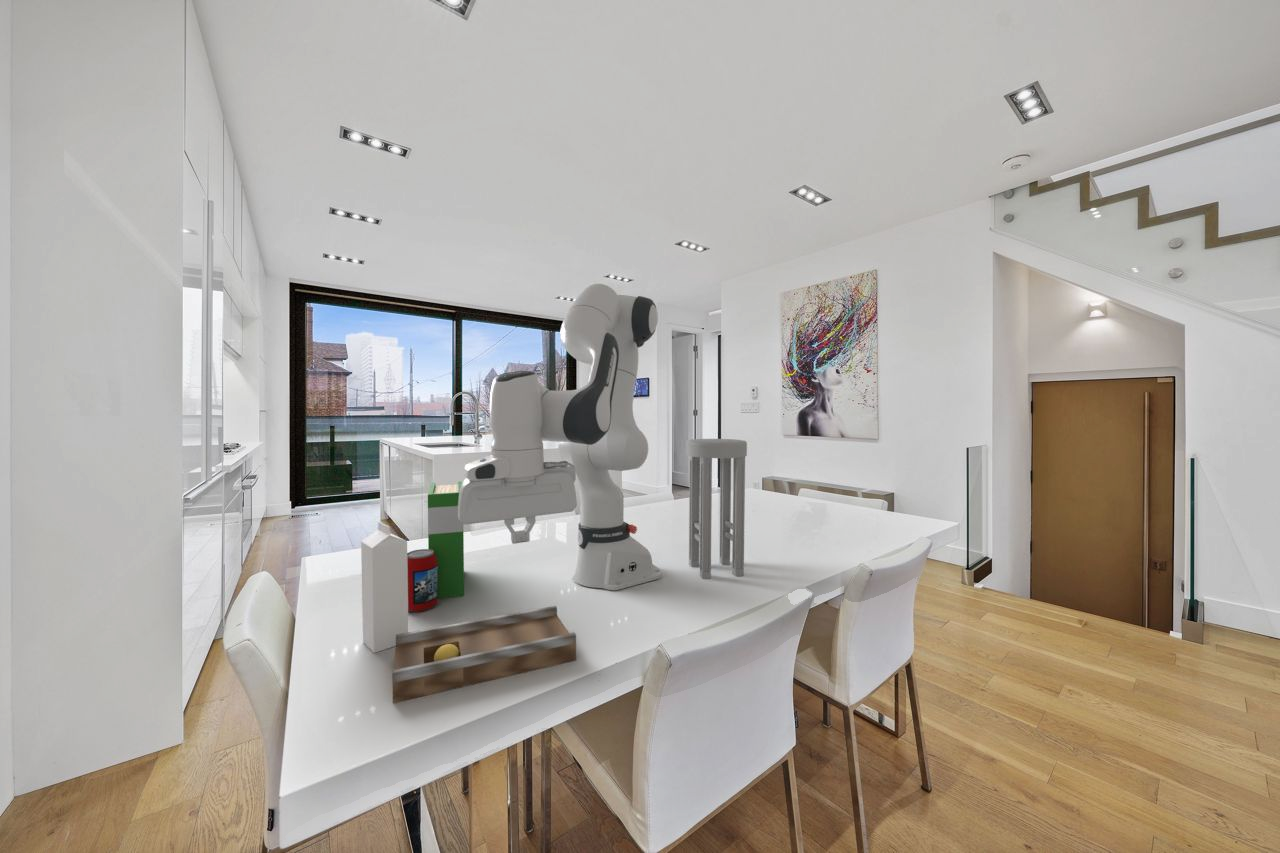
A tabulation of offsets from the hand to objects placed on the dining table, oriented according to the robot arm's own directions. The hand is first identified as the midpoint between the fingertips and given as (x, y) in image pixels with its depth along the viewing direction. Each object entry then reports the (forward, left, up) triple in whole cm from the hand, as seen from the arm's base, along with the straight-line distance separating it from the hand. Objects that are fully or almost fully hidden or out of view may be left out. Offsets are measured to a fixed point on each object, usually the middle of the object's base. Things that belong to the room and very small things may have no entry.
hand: (520, 541), depth 83 cm
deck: (+6, 0, -20) cm, 21 cm away
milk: (+22, -14, -20) cm, 33 cm away
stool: (-56, -21, -20) cm, 63 cm away
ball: (+12, 0, -18) cm, 22 cm away
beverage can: (+16, -28, -20) cm, 38 cm away
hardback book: (+10, -40, -20) cm, 46 cm away
